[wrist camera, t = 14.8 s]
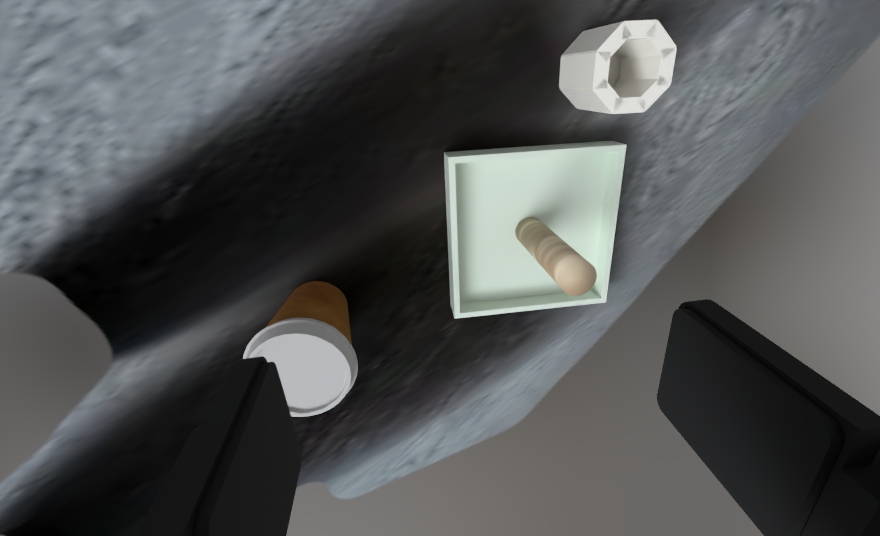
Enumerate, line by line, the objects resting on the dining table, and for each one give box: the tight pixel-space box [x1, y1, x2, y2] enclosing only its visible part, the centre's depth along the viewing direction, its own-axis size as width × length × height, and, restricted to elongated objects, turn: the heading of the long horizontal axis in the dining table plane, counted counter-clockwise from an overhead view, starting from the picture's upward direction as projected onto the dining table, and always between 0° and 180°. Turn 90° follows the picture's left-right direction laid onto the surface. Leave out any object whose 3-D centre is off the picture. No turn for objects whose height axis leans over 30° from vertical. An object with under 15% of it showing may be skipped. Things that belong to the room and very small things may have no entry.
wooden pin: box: [515, 217, 597, 296], centre depth 39 cm, size 3×3×12 cm
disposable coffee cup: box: [243, 281, 358, 417], centre depth 40 cm, size 10×10×12 cm
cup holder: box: [559, 20, 677, 114], centre depth 36 cm, size 7×7×7 cm
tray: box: [444, 140, 627, 319], centre depth 44 cm, size 17×17×3 cm
